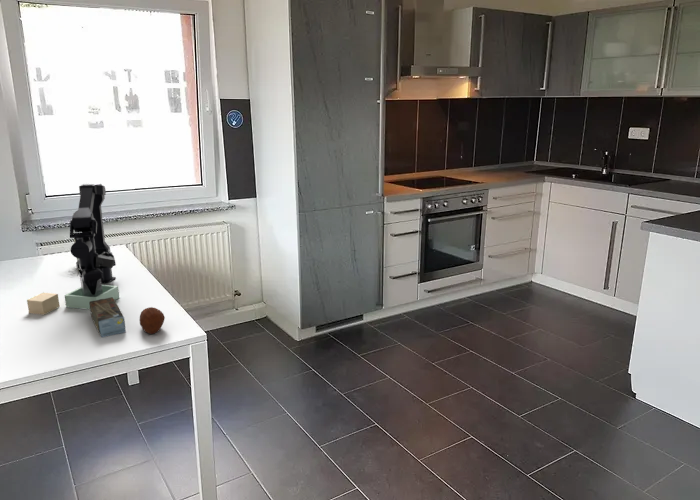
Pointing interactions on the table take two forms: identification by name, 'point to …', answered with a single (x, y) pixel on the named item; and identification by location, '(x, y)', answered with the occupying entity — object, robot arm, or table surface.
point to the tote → (82, 302)
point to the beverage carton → (107, 317)
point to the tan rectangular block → (43, 303)
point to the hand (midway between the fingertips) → (92, 291)
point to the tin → (87, 292)
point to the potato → (151, 320)
